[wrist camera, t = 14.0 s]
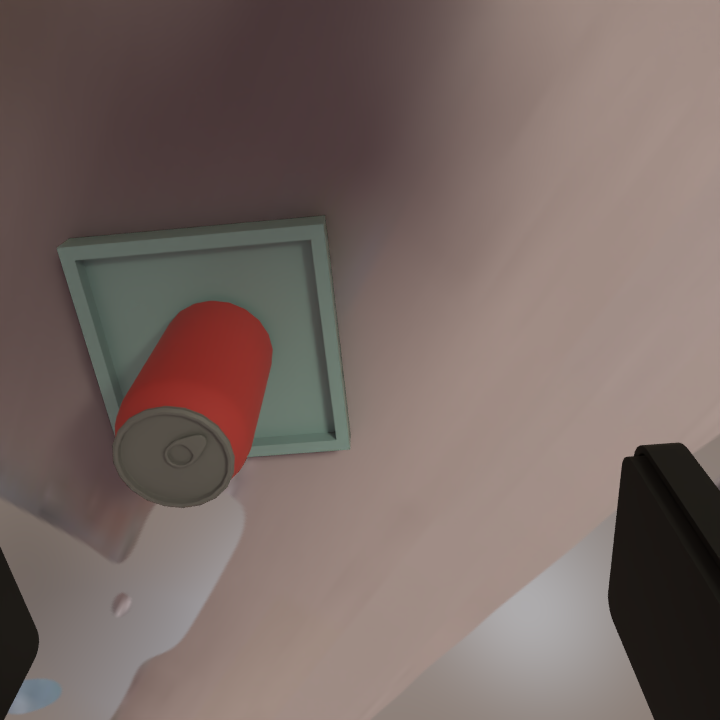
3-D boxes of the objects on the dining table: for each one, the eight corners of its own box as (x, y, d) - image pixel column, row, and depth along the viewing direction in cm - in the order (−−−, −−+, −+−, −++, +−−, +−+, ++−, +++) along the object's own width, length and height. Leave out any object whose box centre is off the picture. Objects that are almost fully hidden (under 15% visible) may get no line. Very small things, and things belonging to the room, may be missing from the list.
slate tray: (325, 215, 38) (323, 224, 37) (350, 434, 45) (350, 449, 43) (68, 238, 39) (56, 248, 37) (132, 450, 46) (124, 466, 44)
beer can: (296, 354, 41) (275, 471, 31) (218, 410, 43) (173, 539, 33) (223, 275, 39) (172, 372, 28) (144, 337, 41) (68, 451, 30)
